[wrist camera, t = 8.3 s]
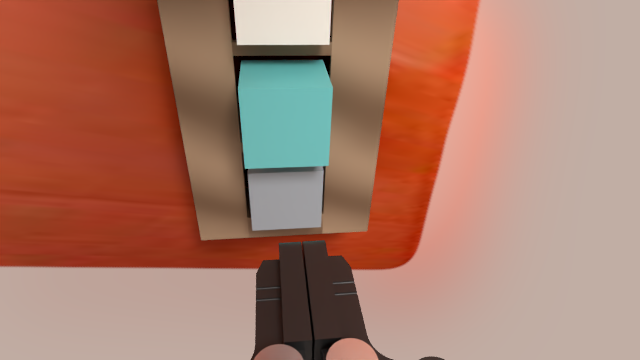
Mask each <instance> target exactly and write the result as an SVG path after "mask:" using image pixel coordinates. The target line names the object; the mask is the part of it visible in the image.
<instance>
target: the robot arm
mask: <svg viewBox="0 0 640 360" xmlns="http://www.w3.org/2000/svg"><path fill="white" fill-rule="evenodd" d="M255 339H256V340H255V343H256V344H255V350H254V354H253V356H252V358H251V360H393V359H389V358H387V357H385V356H383V355H382V354H380V353H379V352H378V351H377V350H375V348H374V347H373V346H372V345H371V343H370V341H369V339H368V336H367V333H366V329H365V324H364V321H363V316H362V312H361V308H360V304H359V300H358V295H357V291H356V287H355V284H354V278H353V274H352V270H351V267H350V265H349V264H348V263H347V262H346V260H345V259H344V258H343V257H342V256H328V254H327V249H326V243H325V241H324V240H323V241H306V242H302V245H301V242H290V243H279V260H263V262H262V264H261V266H260V267H259V269H258V272H257V273H256V337H255ZM420 360H444V359H442V358H438V357H424V358H421V359H420Z"/></svg>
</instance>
